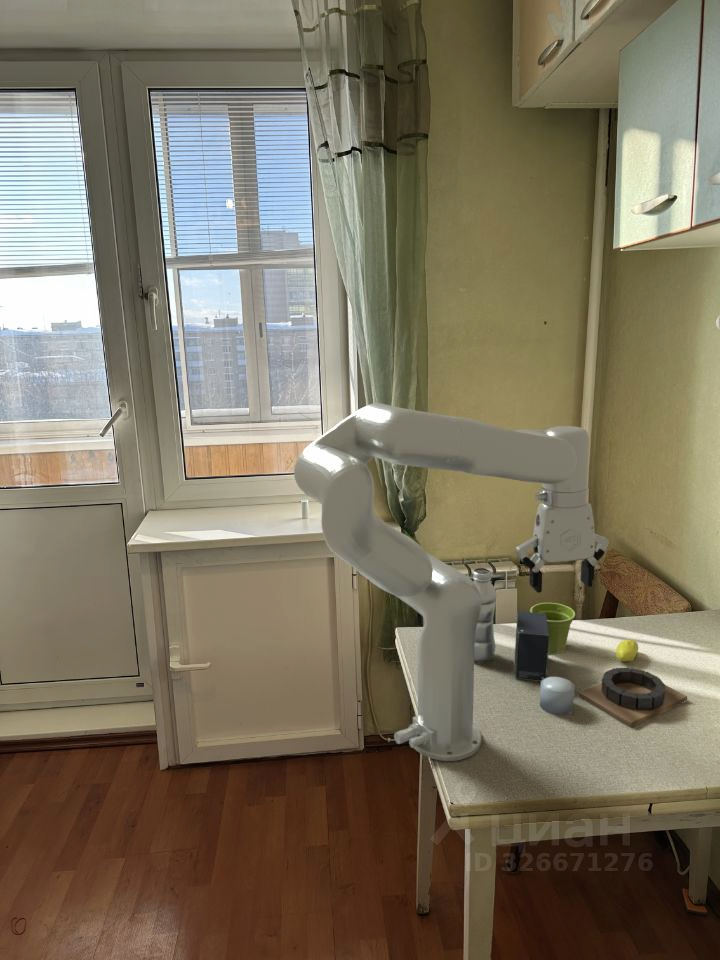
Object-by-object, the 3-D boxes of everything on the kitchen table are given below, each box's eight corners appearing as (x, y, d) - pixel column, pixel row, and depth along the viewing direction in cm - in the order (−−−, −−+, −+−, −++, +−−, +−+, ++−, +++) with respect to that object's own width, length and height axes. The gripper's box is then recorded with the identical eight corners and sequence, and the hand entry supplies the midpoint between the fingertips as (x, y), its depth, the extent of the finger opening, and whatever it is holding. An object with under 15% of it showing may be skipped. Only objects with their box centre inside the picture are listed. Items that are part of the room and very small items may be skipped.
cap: (556, 719, 125) (557, 696, 124) (533, 703, 130) (534, 681, 129) (579, 709, 128) (581, 686, 127) (555, 694, 133) (556, 672, 132)
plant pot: (572, 660, 146) (574, 623, 144) (527, 654, 148) (528, 618, 146) (573, 640, 154) (575, 605, 152) (530, 635, 157) (532, 600, 155)
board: (630, 727, 122) (631, 722, 122) (578, 696, 132) (578, 691, 132) (686, 700, 130) (687, 696, 130) (633, 673, 140) (633, 669, 140)
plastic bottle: (462, 663, 146) (463, 575, 141) (467, 648, 152) (469, 563, 147) (492, 667, 144) (495, 578, 139) (497, 652, 150) (499, 566, 145)
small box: (548, 682, 137) (550, 634, 135) (514, 679, 139) (516, 632, 136) (544, 656, 148) (547, 612, 145) (514, 654, 149) (515, 610, 146)
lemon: (642, 654, 148) (644, 637, 147) (629, 669, 142) (631, 652, 141) (623, 648, 150) (624, 632, 150) (609, 663, 145) (610, 646, 144)
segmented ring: (637, 717, 124) (639, 704, 123) (589, 689, 133) (590, 677, 132) (676, 698, 129) (677, 687, 128) (627, 673, 138) (628, 662, 138)
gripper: (525, 507, 116) (524, 600, 120) (621, 498, 118) (616, 589, 122) (509, 495, 123) (508, 583, 127) (599, 487, 125) (595, 574, 130)
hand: (561, 586), depth 125 cm, fingers open, 9 cm apart
